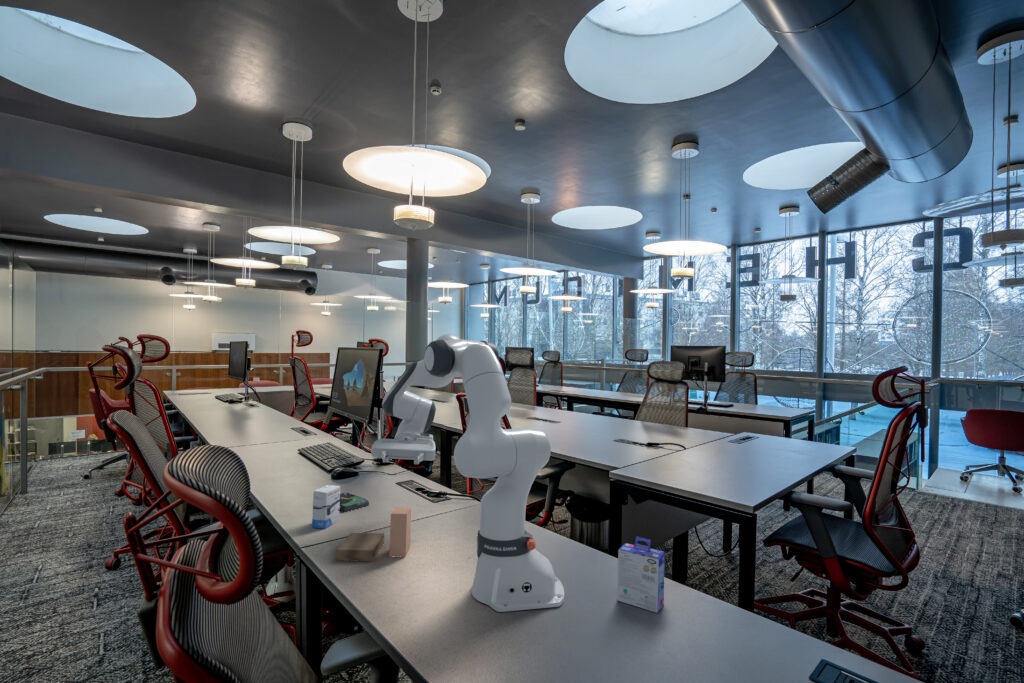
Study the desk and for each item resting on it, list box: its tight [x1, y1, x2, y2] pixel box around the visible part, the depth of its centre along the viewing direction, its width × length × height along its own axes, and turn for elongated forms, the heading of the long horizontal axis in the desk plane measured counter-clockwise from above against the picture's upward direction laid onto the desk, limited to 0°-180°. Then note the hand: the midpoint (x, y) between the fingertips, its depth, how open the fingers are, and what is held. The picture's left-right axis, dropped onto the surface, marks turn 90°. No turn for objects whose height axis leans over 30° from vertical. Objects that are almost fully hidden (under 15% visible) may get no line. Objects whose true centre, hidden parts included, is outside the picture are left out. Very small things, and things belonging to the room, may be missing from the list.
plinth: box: [335, 532, 385, 562], centre depth 134 cm, size 10×12×3 cm
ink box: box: [311, 484, 341, 530], centre depth 155 cm, size 8×5×12 cm, turn 168°
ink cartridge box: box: [616, 536, 666, 613], centre depth 110 cm, size 10×6×14 cm, turn 58°
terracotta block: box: [388, 506, 412, 558], centre depth 134 cm, size 4×6×12 cm
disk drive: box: [339, 492, 370, 513], centre depth 174 cm, size 10×3×15 cm
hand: (400, 461), depth 144 cm, fingers open, 8 cm apart
